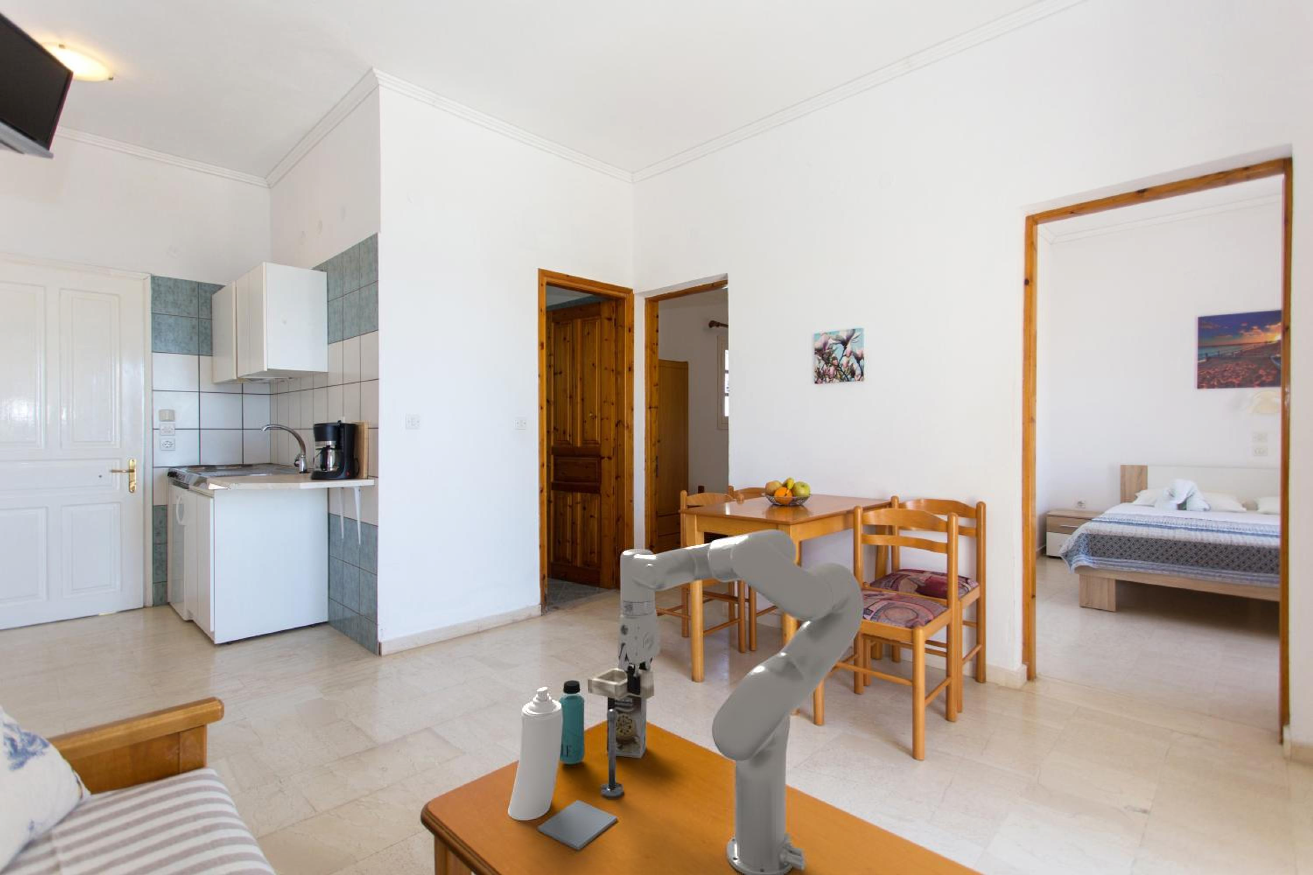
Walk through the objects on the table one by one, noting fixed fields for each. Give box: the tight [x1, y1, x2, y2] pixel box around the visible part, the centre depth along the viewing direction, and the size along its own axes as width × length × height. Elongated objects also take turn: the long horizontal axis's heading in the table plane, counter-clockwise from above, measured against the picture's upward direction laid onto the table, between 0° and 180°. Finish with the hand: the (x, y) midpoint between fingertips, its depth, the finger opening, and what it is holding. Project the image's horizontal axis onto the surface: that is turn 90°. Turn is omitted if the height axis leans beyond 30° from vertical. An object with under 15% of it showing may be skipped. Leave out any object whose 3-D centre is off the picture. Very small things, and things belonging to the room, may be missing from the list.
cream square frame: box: [587, 667, 655, 700], centre depth 141 cm, size 14×9×5 cm, turn 55°
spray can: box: [507, 687, 563, 821], centre depth 138 cm, size 12×11×25 cm
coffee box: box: [606, 695, 648, 759], centre depth 162 cm, size 9×6×16 cm
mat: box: [537, 799, 618, 851], centre depth 131 cm, size 11×12×1 cm
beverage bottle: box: [558, 680, 586, 765], centre depth 155 cm, size 6×7×20 cm
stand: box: [600, 709, 624, 799], centre depth 143 cm, size 5×5×19 cm
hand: (638, 690), depth 139 cm, fingers closed on cream square frame
